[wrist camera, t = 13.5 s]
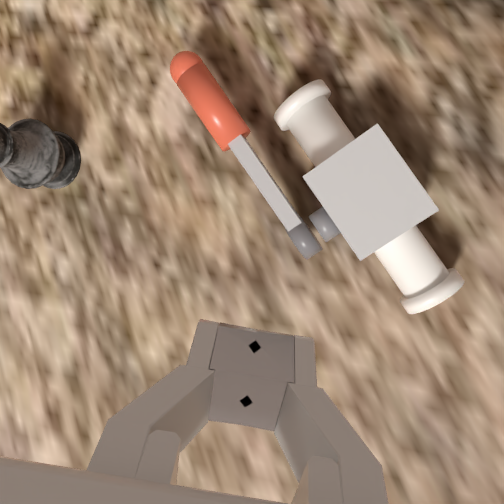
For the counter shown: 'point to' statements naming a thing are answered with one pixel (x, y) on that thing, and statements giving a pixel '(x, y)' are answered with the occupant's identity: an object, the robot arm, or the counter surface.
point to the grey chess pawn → (37, 155)
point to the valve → (368, 197)
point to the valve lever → (237, 141)
